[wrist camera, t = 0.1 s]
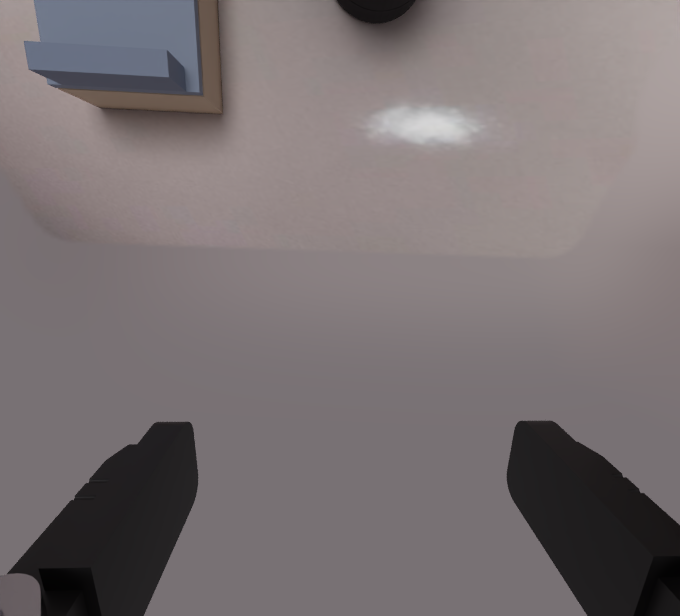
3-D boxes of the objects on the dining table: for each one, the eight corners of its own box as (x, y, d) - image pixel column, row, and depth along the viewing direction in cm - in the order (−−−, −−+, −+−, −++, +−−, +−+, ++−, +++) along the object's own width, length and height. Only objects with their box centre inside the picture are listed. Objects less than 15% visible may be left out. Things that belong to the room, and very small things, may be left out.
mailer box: (74, -87, 28) (20, -151, 23) (213, -76, 29) (190, -137, 24) (100, 107, 32) (58, 88, 27) (222, 114, 33) (204, 96, 28)
